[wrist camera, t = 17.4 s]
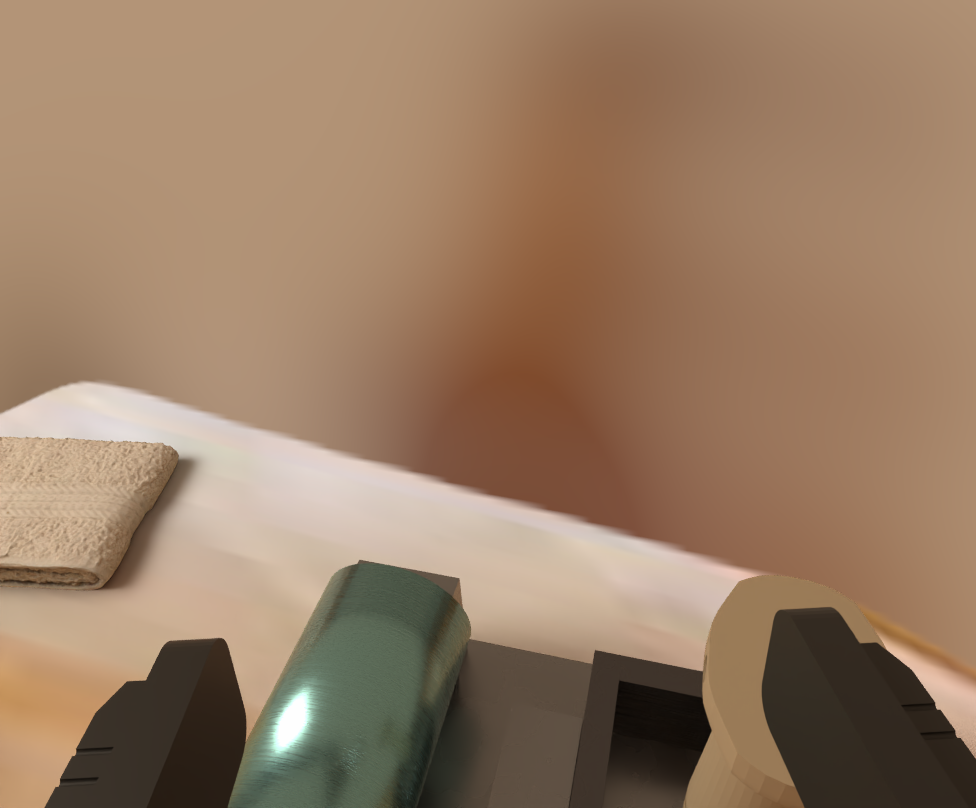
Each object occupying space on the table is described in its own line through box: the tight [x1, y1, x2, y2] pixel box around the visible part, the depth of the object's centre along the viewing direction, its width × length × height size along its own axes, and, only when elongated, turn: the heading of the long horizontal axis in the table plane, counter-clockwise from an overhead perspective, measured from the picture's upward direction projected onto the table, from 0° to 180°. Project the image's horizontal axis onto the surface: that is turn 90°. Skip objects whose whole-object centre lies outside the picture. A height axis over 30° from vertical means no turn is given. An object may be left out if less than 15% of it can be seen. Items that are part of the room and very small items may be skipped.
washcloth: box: [0, 437, 179, 590], centre depth 48 cm, size 12×18×3 cm, turn 86°
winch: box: [228, 560, 712, 808], centre depth 28 cm, size 16×28×10 cm, turn 75°
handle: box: [683, 575, 887, 808], centre depth 24 cm, size 5×6×15 cm
